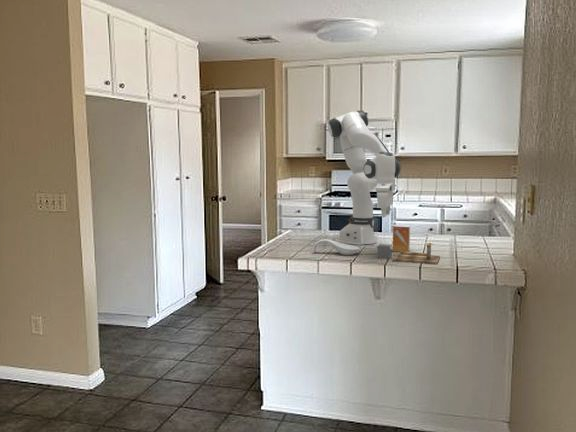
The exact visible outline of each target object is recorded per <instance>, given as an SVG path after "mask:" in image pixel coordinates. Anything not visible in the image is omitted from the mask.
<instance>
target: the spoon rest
mask: <svg viewBox="0 0 576 432" xmlns="http://www.w3.org/2000/svg"><path fill="white" fill-rule="evenodd" d="M321 243H327V244H330V245H331V246H332V247H333V248H334V249H335V250H336V251H337V252H338V253H339V254H340V255H343V256H353V255H355V254H357V253H358V252H360V250H361V248H360V246H358V245H354V244H345V243H339V242H336V241H335V240H332V239H327V238H323V239H319V240H318V241H316V242H315V243H314V245H313V246H312V250H311V253H312V254H315V253H316V250H317V246H318V245H320V244H321Z"/></svg>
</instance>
